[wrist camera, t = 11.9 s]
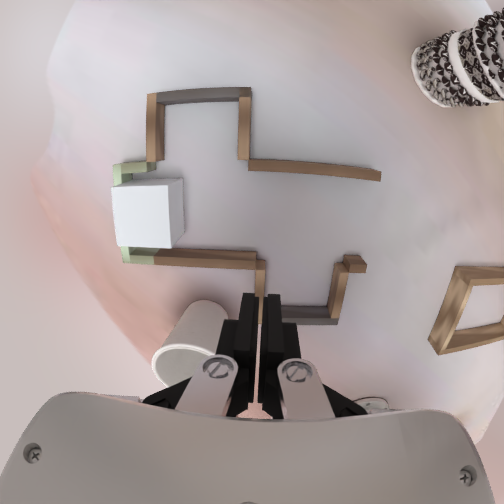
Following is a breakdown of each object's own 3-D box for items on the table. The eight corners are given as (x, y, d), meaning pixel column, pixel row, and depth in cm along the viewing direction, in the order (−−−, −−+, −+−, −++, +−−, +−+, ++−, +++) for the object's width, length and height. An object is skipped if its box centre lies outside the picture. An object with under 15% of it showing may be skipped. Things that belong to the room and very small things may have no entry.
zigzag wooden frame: (347, 312, 33) (352, 324, 30) (140, 303, 33) (133, 313, 31) (375, 106, 23) (385, 103, 21) (123, 102, 24) (112, 100, 21)
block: (184, 231, 29) (171, 248, 25) (136, 230, 30) (117, 245, 25) (183, 178, 27) (167, 185, 23) (133, 179, 27) (111, 187, 23)
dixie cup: (163, 312, 34) (136, 365, 24) (206, 277, 31) (186, 331, 22) (207, 351, 36) (194, 407, 27) (252, 323, 34) (249, 382, 24)
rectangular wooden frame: (500, 325, 34) (510, 337, 30) (427, 339, 35) (438, 355, 31) (524, 267, 29) (536, 276, 26) (455, 266, 30) (470, 279, 26)
